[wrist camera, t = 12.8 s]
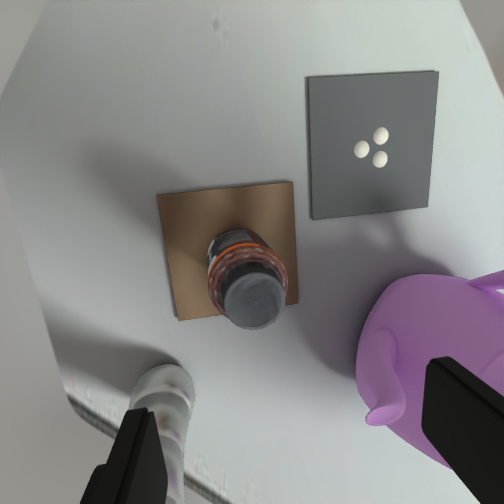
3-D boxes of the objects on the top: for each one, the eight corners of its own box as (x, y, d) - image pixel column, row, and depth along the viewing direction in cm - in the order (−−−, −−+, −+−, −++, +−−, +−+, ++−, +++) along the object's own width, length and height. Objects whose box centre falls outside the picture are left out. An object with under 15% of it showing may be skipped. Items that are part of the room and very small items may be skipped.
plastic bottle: (207, 369, 32) (206, 657, 13) (177, 414, 33) (133, 744, 14) (155, 346, 30) (65, 637, 11) (125, 393, 31) (-7, 738, 12)
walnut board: (291, 181, 28) (292, 182, 27) (297, 301, 31) (298, 303, 31) (157, 194, 26) (156, 195, 26) (179, 318, 30) (178, 321, 29)
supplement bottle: (194, 252, 28) (186, 300, 17) (239, 212, 27) (260, 235, 17) (234, 293, 29) (249, 360, 19) (277, 256, 29) (318, 302, 18)
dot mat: (436, 72, 27) (439, 71, 27) (425, 206, 31) (427, 207, 30) (307, 79, 26) (309, 77, 25) (311, 219, 29) (313, 220, 29)
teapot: (503, 251, 34) (722, 305, 19) (438, 396, 38) (575, 528, 24) (333, 209, 29) (454, 241, 15) (282, 380, 34) (336, 530, 20)
